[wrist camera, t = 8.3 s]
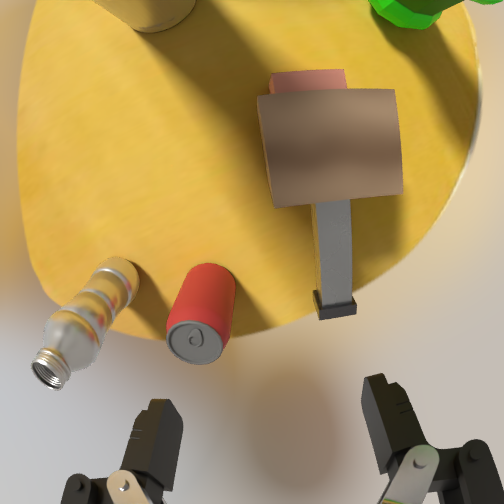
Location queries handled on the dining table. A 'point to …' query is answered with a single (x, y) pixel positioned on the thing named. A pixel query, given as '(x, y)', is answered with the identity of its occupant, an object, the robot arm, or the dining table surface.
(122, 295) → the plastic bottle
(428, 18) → the plastic bottle
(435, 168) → the dining table surface
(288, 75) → the spacer
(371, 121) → the brown wooden block
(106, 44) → the dining table surface
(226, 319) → the beer can
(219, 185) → the dining table surface
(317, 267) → the shaft
